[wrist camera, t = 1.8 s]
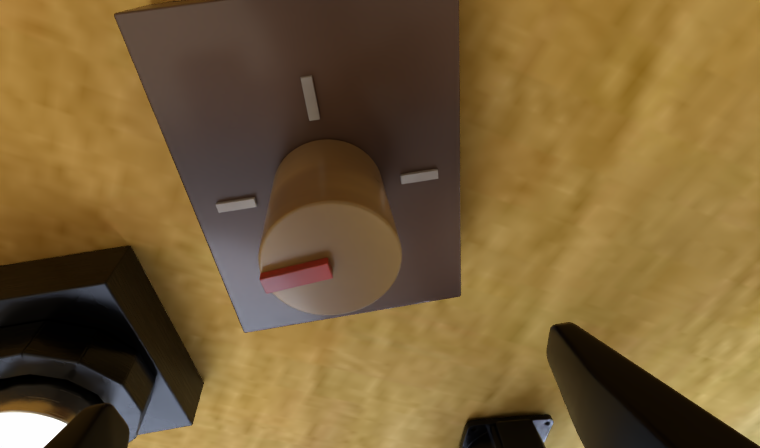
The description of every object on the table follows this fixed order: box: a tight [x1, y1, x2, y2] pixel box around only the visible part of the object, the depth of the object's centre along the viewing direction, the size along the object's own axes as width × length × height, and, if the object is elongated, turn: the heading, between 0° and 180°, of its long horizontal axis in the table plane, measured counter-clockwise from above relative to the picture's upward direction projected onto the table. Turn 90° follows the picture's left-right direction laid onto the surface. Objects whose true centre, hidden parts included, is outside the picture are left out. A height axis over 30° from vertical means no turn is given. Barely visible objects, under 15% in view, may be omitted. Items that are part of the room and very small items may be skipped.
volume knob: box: [258, 139, 402, 315], centre depth 13 cm, size 4×4×5 cm
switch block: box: [0, 246, 204, 443], centre depth 20 cm, size 10×8×4 cm
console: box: [114, 0, 461, 333], centre depth 17 cm, size 13×10×3 cm
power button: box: [0, 374, 104, 448], centre depth 17 cm, size 4×4×2 cm
